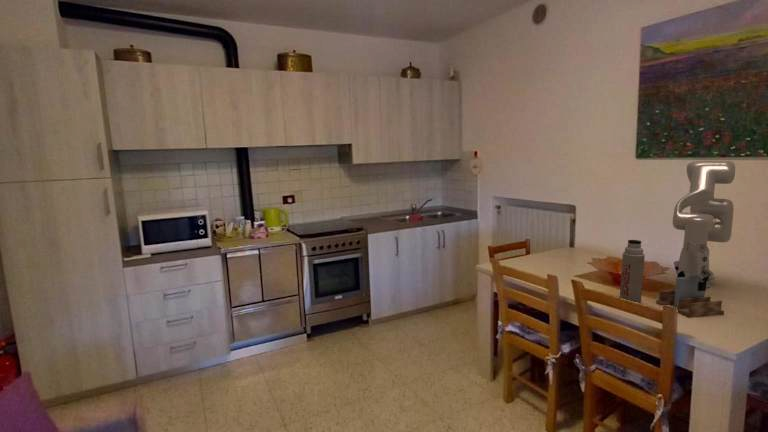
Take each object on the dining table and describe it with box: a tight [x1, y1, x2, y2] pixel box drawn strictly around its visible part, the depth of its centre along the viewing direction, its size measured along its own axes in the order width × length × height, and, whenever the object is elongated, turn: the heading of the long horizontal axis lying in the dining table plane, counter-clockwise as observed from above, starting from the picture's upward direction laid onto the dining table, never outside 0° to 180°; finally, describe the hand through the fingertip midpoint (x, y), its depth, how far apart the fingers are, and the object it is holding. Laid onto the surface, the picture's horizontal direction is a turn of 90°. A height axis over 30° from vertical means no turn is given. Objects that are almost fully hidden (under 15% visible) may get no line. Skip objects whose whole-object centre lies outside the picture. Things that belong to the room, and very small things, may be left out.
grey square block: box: [674, 276, 706, 307], centre depth 169 cm, size 12×2×12 cm, turn 100°
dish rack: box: [655, 289, 725, 319], centre depth 169 cm, size 16×16×6 cm
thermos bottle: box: [619, 239, 645, 304], centre depth 174 cm, size 8×8×28 cm
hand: (690, 286), depth 169 cm, fingers open, 9 cm apart
